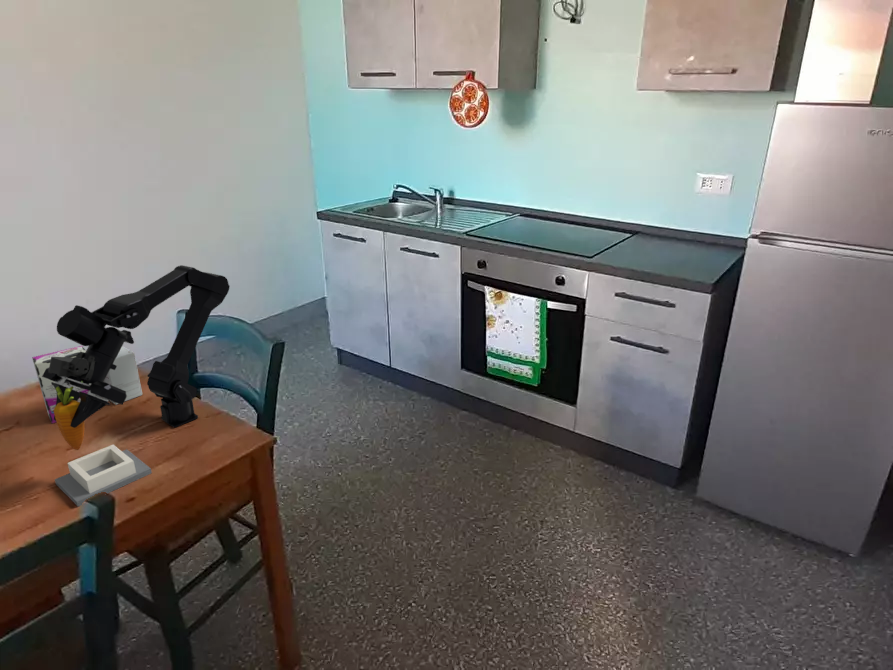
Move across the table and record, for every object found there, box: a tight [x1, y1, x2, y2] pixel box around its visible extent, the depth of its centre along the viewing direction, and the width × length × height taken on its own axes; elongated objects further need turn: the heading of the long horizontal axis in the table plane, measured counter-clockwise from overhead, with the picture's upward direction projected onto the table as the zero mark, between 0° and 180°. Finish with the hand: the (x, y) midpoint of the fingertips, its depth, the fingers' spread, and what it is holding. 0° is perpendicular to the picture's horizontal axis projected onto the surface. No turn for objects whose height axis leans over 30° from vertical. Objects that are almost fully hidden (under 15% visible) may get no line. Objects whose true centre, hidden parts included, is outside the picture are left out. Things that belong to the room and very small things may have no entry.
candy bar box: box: [32, 345, 91, 424], centre depth 155 cm, size 11×5×16 cm, turn 129°
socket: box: [54, 444, 153, 507], centre depth 133 cm, size 15×11×4 cm
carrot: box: [54, 387, 85, 451], centre depth 129 cm, size 5×5×15 cm
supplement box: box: [104, 346, 143, 405], centre depth 164 cm, size 7×7×13 cm
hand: (64, 424), depth 128 cm, fingers closed on carrot, 5 cm apart
